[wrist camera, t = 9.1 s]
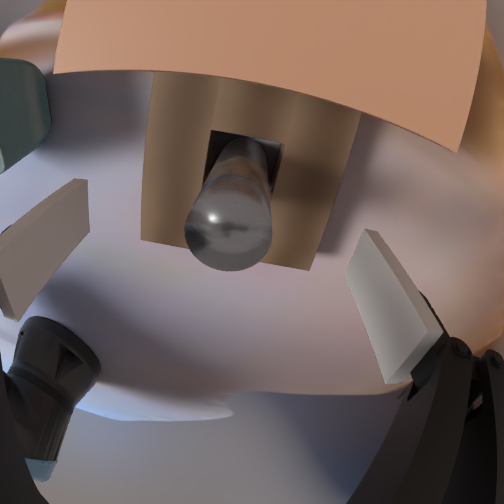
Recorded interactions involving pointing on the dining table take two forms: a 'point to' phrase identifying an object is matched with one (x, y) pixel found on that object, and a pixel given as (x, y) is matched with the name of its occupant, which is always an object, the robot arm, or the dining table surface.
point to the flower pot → (21, 110)
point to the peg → (232, 210)
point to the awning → (298, 50)
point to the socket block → (253, 125)
